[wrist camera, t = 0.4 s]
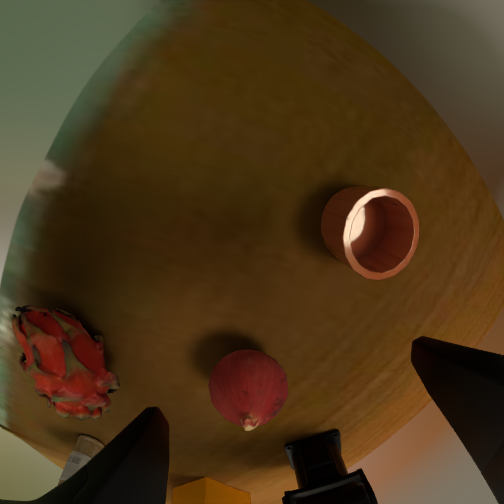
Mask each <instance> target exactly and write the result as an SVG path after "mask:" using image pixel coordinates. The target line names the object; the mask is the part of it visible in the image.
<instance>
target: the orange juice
mask: <svg viewBox="0 0 504 504" xmlns="http://www.w3.org/2000/svg"><path fill="white" fill-rule="evenodd" d="M172 504H251V499H250V493H247V492H244V491H241V490H238V489H235V488H233V487H230V486H227V485H225V484H222V483H220V482H217V481H215V480H213V479H210V478H208V477H204V478H202V479H199V480H196V481H193V482H190V483H187V484H184V485H181V486H178V487H175V488H173V496H172Z"/></svg>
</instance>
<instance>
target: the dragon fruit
mask: <svg viewBox="0 0 504 504" xmlns="http://www.w3.org/2000/svg"><path fill="white" fill-rule="evenodd" d="M15 310H16V311H20V312H21V313H20V314H21V315H19V316H18V317H17V316H16V315H14V314H13V318H12V319H13V322H12V327H13V328H14V329H13V330H14V334H15V336H16V337H17V339H18V341H19V343H20V345H21V346H22V347H23V349H24V352H25V354H24V353H23V352H22V355H23V356H20V361H19V363H20V365H21V367H22V368H23V369H24V370H25V371H26V372H27V373H28V375H29V376H31V377H33V378H34V379H35V380H36V385H35V387H34V389H35V391H36V392H37V394H38V395H39V396H41V397H46V398H47V399H48V402H47V405H48V407H49V408H50V406H51V404H53V405H54V406H55V409H56V412H57V413H58V414H59V415H60V416H62V417H64V418H67V417H68V415H69V414H71V415H72V416H74V417H76V418H77V419H80V420H85V419H87V418H91V419H94V420H96V419H98V418H99V417H100V416H101V415H102V409H101V408H103V409H104V410H105V411H106V412H108V411H109V409H110V407H111V401H110V399H109V398H108V396H107V395H106V391H107V390H108V393H113V392H114V391H116V390H117V389H116V388H119V387H120V383H119V381H118V376H117V375H115V374H113V373H111V372H109V371H106V367H105V360H104V354H103V351H104V338H103V337H102V336H101V335H97V336H94V338H95V340H92V339H91V337H90V335H89V334H88V332H87V331H86V330H85V329H84V328H83V327H82V324H81V323H80V321H78V320H76V317H75V316H74V315H71V314H69V313H68V312H65V311H63V310H61V309H59V308H57V309H56V308H55V310H56V311H57V312H56V311H54V310H52V309H51V308H48V309H47V308H38V307H35V306H30V305H27V306H23V307H17V308H16V309H15ZM25 312H26V313H25ZM25 360H27V362H26V363H25V362H24V361H25ZM108 393H107V394H108Z"/></svg>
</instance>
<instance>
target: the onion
mask: <svg viewBox="0 0 504 504" xmlns="http://www.w3.org/2000/svg"><path fill="white" fill-rule="evenodd" d="M208 385H209V391H210V396H211V401H212V403H213V405H214V407H215V408H216V409H217V410H218V411H219V412H220V414H221V415H222V416H223V417H224V418H225V419H226V420H228V421H230V422H232V423H234V424H237V425H240V426H243V427H244V428H245V431H250V430H252V429H254V428H256V427H257V426H260V425H263V424H266V423H267V422H268V421H270V420H271V419H272V418H274V417H275V416H276V415H277V414H278V413H279V412H280V410H281V408H282V406H283V404H284V403H285V401H286V399H287V395H288V387H287V377H286V373H285V372H284V370H283V369H282V367H281V366H280V365H279V364H278V362H277V361H276V360H275V359H274V358H272V357H270V356H268V355H267V354H265V353H263V352H260V351H255V350H251V349H246V350H237V351H235V352H232V353H230V354H228V355H226V356H225V357H223V358H222V359H221V360H220V361H219V362H218V363H217V364H216V365H215V366H214V368H213V371H212V374H211V377H210V381H209V384H208Z"/></svg>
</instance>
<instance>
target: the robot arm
mask: <svg viewBox="0 0 504 504" xmlns="http://www.w3.org/2000/svg"><path fill="white" fill-rule="evenodd" d="M411 362H412V364H413V366H414V368H415V370H416V372H417V373H418V375H419V377H420V379H421V381H422V382H423V384H424V386H425V388H426V390H427V391H428V393H429V395H430V396H431V398H432V399H433V400H434V402H435V403H436V405H437V406H438V408H439V409H440V410H441V412H442V413H443V415H444V416H445V418H446V419H447V420H448V422H449V424H450V425H451V427H452V428H453V429H454V431H455V432H456V434H457V435H458V437H459V438H460V440H461V442H462V443H463V444H464V446H465V448H466V449H467V451H468V452H469V454H470V455H471V457H472V459H473V460H474V462H475V463H476V465H477V467H478V468H479V470H480V471H481V474H482V475H483V477H484V479H485V480H486V482H487V484H488V486H489V487H490V489H491V491H492V493H493V494H494V496H495V498H496V500H497V502H498V503H499V504H504V355H501V354H496V353H492V352H487V351H483V350H478V349H474V348H470V347H466V346H461V345H457V344H453V343H449V342H445V341H441V340H437V339H433V338H429V337H425V336H421V337H419V338H417V339H415V340H413V342H412V350H411ZM285 450H286V453H287V456H288V459H289V461H290V464H291V467H292V469H294V470H295V475H296V479H297V484H298V488H299V489H296V490H292V491H285V492H284V493H285V496H284V497H283V498H282V501H283V504H378V503H377V499H376V497H375V494H374V492H373V490H372V488H371V486H370V484H369V482H368V480H367V478H366V476H365V474H364V472H363V470H362V469H358V470H357V471H354V472H352V473H349V474H348V472H347V469H346V466H345V464H344V461H343V459H342V456H341V443H340V433H339V430H334V431H331V432H328V433H325V434H322V435H318V436H315V437H311V438H308V439H304V440H300V441H296V442H292V443H288V444H286V445H285ZM168 470H169V424H168V421H167V420H166V418H165V417H164V415H163V413H162V412H161V410H160V409H159V408H158V407H147V408H146V409H144V410H143V411H142V412H141V413H140V414H139V415H138V416H137V417H136V418H135V419H134V420H133V421H132V422H131V423H130V424H129V425H128V426H127V427H125V428H124V429H123V430H122V431H121V432H120V433H119V434H118V435H117V436H116V437H115V438H114V439H113V440H112V441H110V442H109V443H108V444H107V445H106V446H105V447H104V448H103V449H102V450H101V451H99V452H98V453H97V454H96V455H95V456H94V457H93V458H92V459H91V460H89V461H88V462H87V464H85V465H84V466H83V467H81V468H80V469H79V470H78V471H77V472H76V473H74V474H73V475H72V476H71V477H69V478H68V479H67V480H65V481H64V482H63V483H61V484H60V485H58V486H57V487H55V488H54V489H52V490H51V491H49V492H48V493H46V494H45V495H43V496H42V497H40V498H38V499H36V500H32V501H12V500H1V499H0V504H165V501H166V490H167V480H168Z"/></svg>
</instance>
